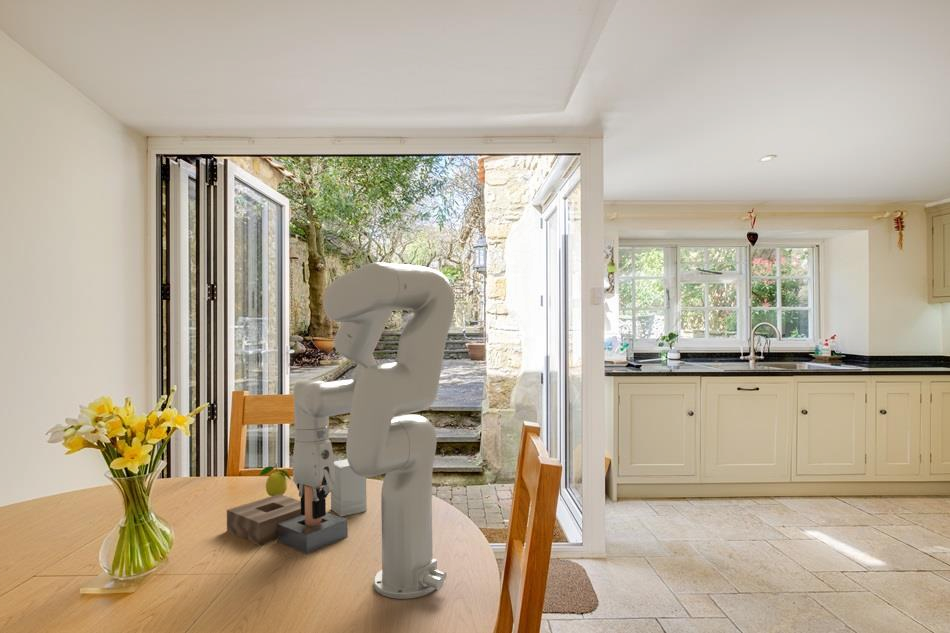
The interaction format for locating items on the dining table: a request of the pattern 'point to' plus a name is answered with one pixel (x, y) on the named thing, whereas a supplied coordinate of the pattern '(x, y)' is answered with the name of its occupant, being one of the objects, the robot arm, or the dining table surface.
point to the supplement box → (348, 490)
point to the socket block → (262, 518)
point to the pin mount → (311, 532)
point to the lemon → (275, 481)
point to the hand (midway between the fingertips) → (313, 514)
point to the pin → (310, 508)
